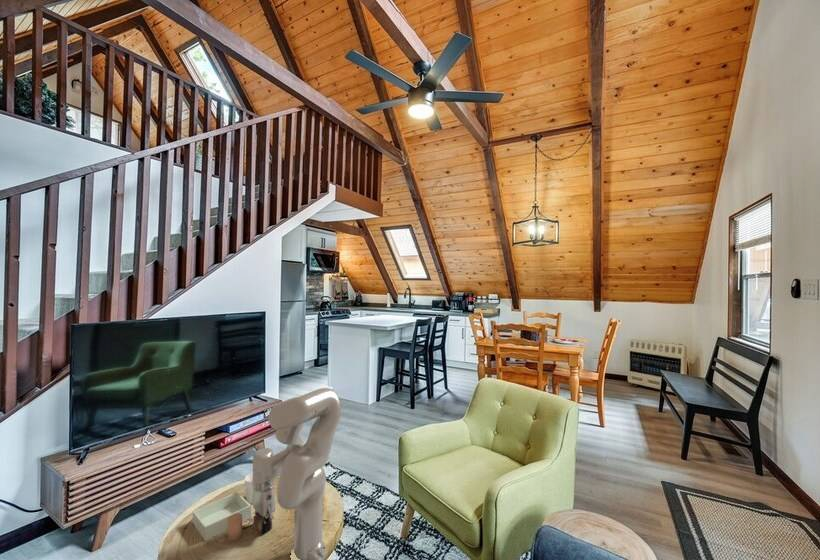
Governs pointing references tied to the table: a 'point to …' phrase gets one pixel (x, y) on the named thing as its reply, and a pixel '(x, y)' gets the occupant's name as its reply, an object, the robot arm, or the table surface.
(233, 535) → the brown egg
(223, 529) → the tote
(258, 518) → the cube
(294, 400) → the robot arm
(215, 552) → the table surface
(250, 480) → the white cup
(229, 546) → the table surface
